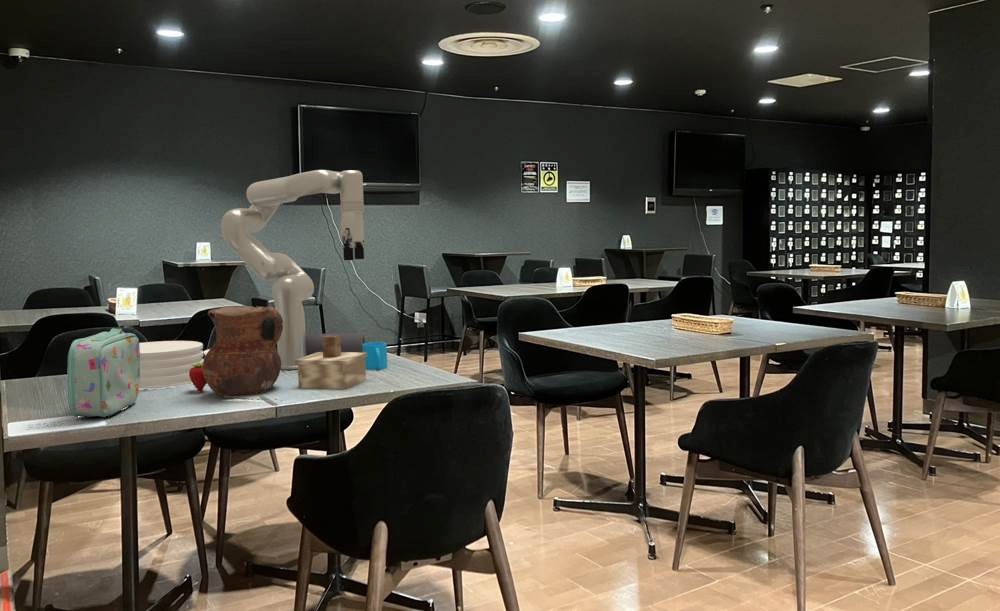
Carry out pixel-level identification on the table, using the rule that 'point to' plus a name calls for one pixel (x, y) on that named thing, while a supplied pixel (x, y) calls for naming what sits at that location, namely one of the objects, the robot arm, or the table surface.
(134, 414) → the table surface
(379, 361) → the mug
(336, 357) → the lid
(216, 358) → the jug
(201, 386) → the strawberry
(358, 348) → the bluetooth speaker
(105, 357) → the lunch box
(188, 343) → the plate stack
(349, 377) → the storage box
